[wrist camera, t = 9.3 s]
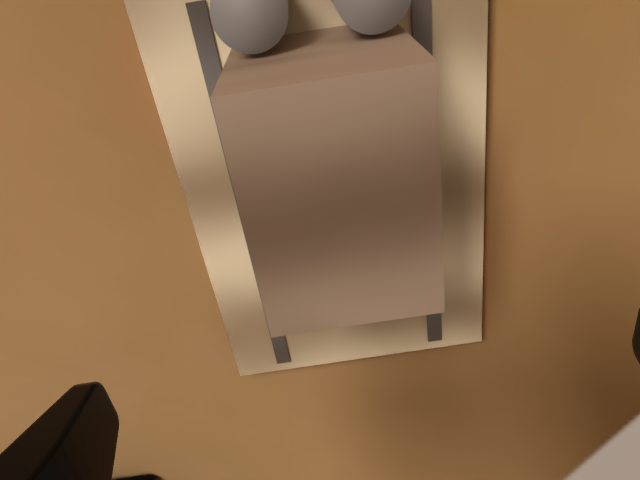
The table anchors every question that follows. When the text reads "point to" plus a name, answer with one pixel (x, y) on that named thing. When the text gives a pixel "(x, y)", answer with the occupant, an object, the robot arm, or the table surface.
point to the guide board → (216, 186)
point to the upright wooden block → (337, 176)
